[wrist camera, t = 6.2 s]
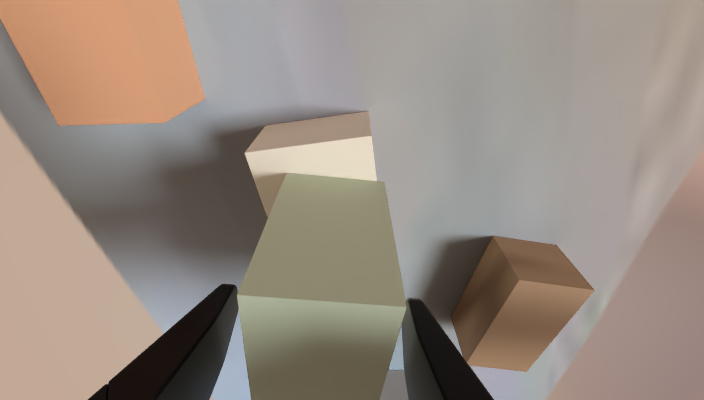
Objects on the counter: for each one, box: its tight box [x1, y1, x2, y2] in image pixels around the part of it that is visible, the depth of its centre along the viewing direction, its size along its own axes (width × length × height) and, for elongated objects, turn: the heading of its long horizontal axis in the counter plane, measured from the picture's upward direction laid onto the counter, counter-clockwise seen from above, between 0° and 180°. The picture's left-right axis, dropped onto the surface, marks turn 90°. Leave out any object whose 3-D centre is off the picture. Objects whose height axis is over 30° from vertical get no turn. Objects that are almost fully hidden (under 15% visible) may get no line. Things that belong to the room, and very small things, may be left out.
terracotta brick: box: [0, 0, 205, 126], centre depth 9 cm, size 6×3×3 cm, turn 2°
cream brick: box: [245, 111, 377, 218], centre depth 13 cm, size 8×4×3 cm, turn 8°
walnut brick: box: [451, 236, 594, 372], centre depth 15 cm, size 6×3×3 cm, turn 171°
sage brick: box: [237, 173, 406, 400], centre depth 10 cm, size 6×3×5 cm, turn 174°
